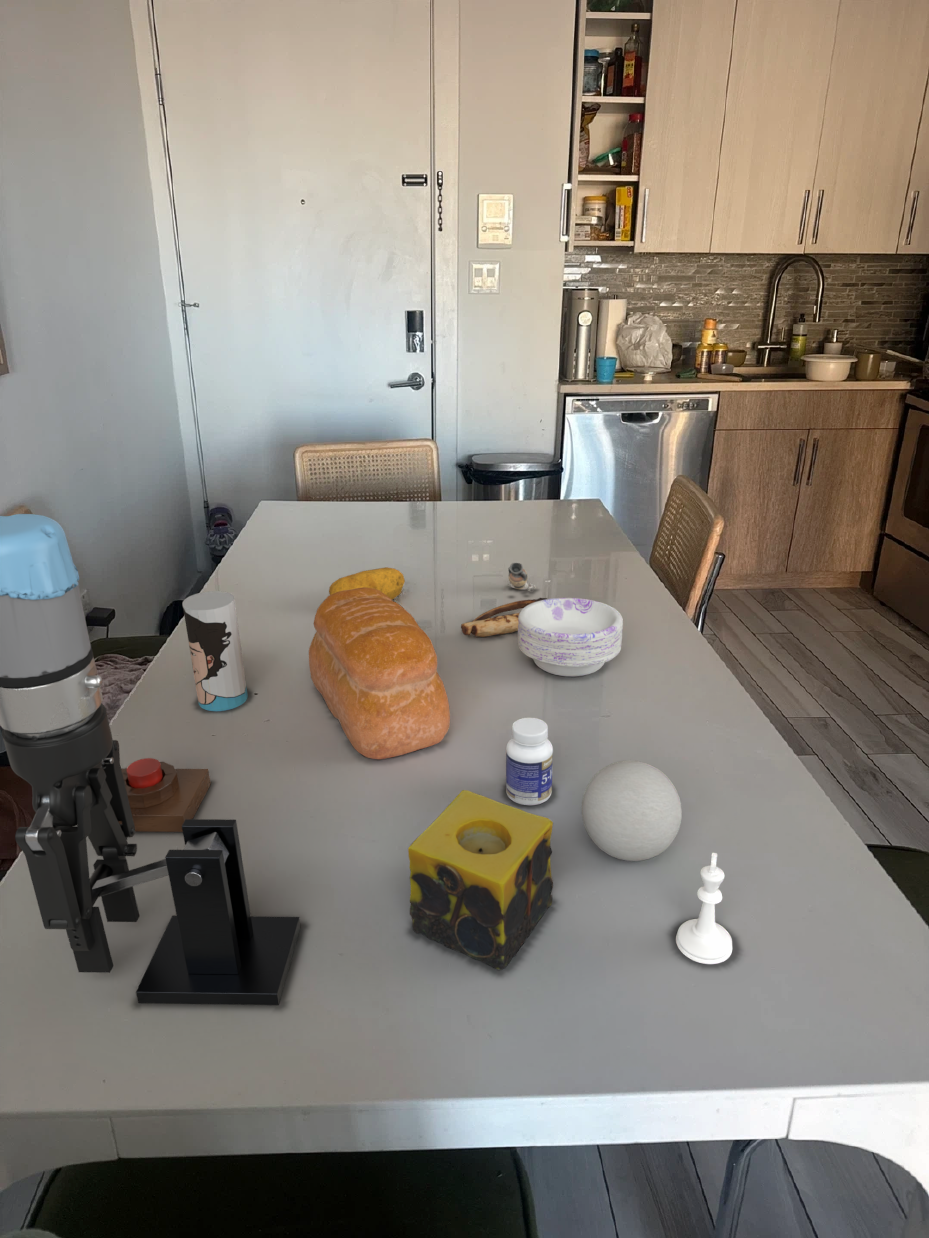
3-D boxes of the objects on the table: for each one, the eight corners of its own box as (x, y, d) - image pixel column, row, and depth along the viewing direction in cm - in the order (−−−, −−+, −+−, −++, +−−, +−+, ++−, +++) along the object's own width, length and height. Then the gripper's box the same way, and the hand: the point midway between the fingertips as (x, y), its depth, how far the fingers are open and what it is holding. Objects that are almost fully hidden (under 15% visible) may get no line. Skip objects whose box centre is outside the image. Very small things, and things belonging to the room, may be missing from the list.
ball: (583, 881, 86) (587, 797, 82) (577, 819, 95) (580, 741, 91) (685, 883, 86) (694, 799, 82) (669, 821, 95) (676, 742, 91)
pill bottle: (550, 808, 97) (551, 740, 94) (503, 804, 98) (503, 737, 95) (553, 781, 102) (555, 715, 99) (508, 778, 103) (508, 712, 99)
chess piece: (733, 929, 80) (745, 841, 76) (731, 969, 76) (744, 878, 72) (678, 919, 81) (687, 831, 77) (673, 957, 77) (682, 867, 73)
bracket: (138, 1003, 74) (107, 873, 68) (174, 925, 82) (149, 804, 76) (278, 1005, 73) (259, 874, 68) (300, 927, 81) (285, 805, 76)
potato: (414, 606, 151) (412, 569, 148) (339, 622, 145) (335, 584, 143) (396, 591, 157) (394, 556, 155) (323, 606, 152) (320, 570, 149)
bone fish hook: (541, 609, 150) (445, 627, 143) (541, 583, 148) (444, 600, 141) (569, 628, 142) (470, 647, 135) (570, 600, 140) (469, 619, 133)
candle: (464, 868, 88) (462, 786, 84) (554, 903, 84) (557, 817, 80) (408, 932, 80) (402, 845, 76) (504, 974, 76) (503, 884, 72)
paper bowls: (592, 635, 139) (594, 589, 136) (639, 676, 126) (642, 626, 122) (502, 650, 134) (502, 602, 131) (541, 695, 121) (542, 643, 118)
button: (124, 789, 96) (121, 775, 95) (136, 770, 99) (133, 757, 99) (156, 789, 96) (153, 775, 95) (167, 770, 99) (164, 757, 98)
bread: (390, 661, 132) (385, 567, 126) (461, 744, 110) (458, 635, 104) (303, 679, 127) (293, 582, 121) (359, 771, 105) (349, 658, 99)
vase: (526, 600, 153) (526, 568, 150) (497, 595, 155) (497, 564, 152) (537, 589, 157) (537, 558, 155) (509, 585, 159) (509, 554, 157)
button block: (87, 831, 95) (79, 801, 94) (119, 783, 103) (113, 755, 102) (186, 831, 95) (180, 801, 93) (211, 784, 103) (206, 755, 101)
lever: (79, 924, 73) (63, 903, 72) (104, 882, 78) (90, 862, 77) (217, 882, 70) (202, 860, 70) (234, 841, 75) (221, 820, 74)
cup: (221, 683, 126) (207, 587, 120) (257, 693, 123) (245, 595, 117) (187, 704, 121) (171, 605, 114) (225, 715, 118) (210, 613, 112)
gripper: (45, 782, 59) (110, 1029, 68) (144, 661, 76) (185, 873, 85) (-63, 782, 59) (16, 1028, 69) (60, 662, 76) (110, 873, 85)
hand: (110, 942), depth 77 cm, fingers closed on lever, 5 cm apart
